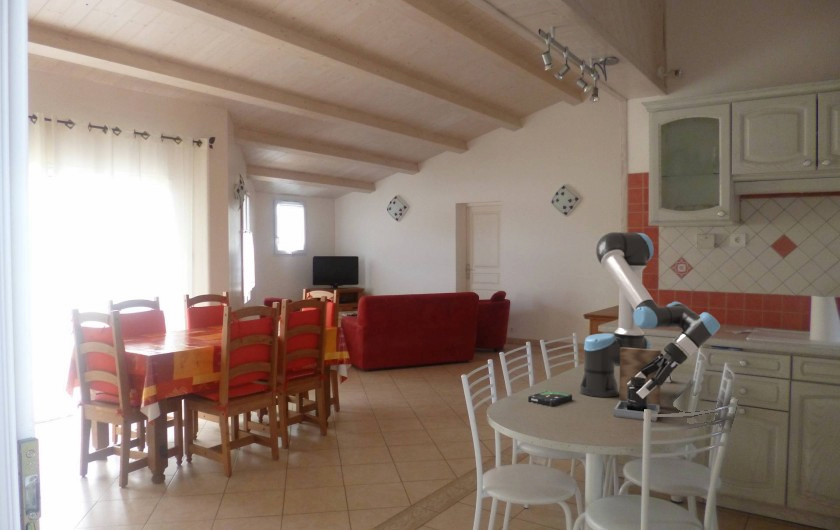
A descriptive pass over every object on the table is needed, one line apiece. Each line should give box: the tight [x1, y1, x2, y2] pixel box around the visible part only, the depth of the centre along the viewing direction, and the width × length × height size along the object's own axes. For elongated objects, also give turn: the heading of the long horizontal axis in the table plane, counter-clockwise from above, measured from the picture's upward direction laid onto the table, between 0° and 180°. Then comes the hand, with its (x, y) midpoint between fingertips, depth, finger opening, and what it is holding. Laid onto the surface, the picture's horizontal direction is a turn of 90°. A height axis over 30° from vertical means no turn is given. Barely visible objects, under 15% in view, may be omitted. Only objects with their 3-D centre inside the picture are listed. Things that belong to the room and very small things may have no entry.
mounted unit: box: [618, 347, 662, 410], centre depth 225 cm, size 14×6×21 cm, turn 64°
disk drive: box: [527, 390, 573, 407], centre depth 230 cm, size 10×3×15 cm
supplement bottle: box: [627, 377, 648, 412], centre depth 212 cm, size 7×7×12 cm
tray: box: [613, 401, 660, 422], centre depth 212 cm, size 14×14×2 cm
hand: (634, 391), depth 212 cm, fingers open, 13 cm apart
